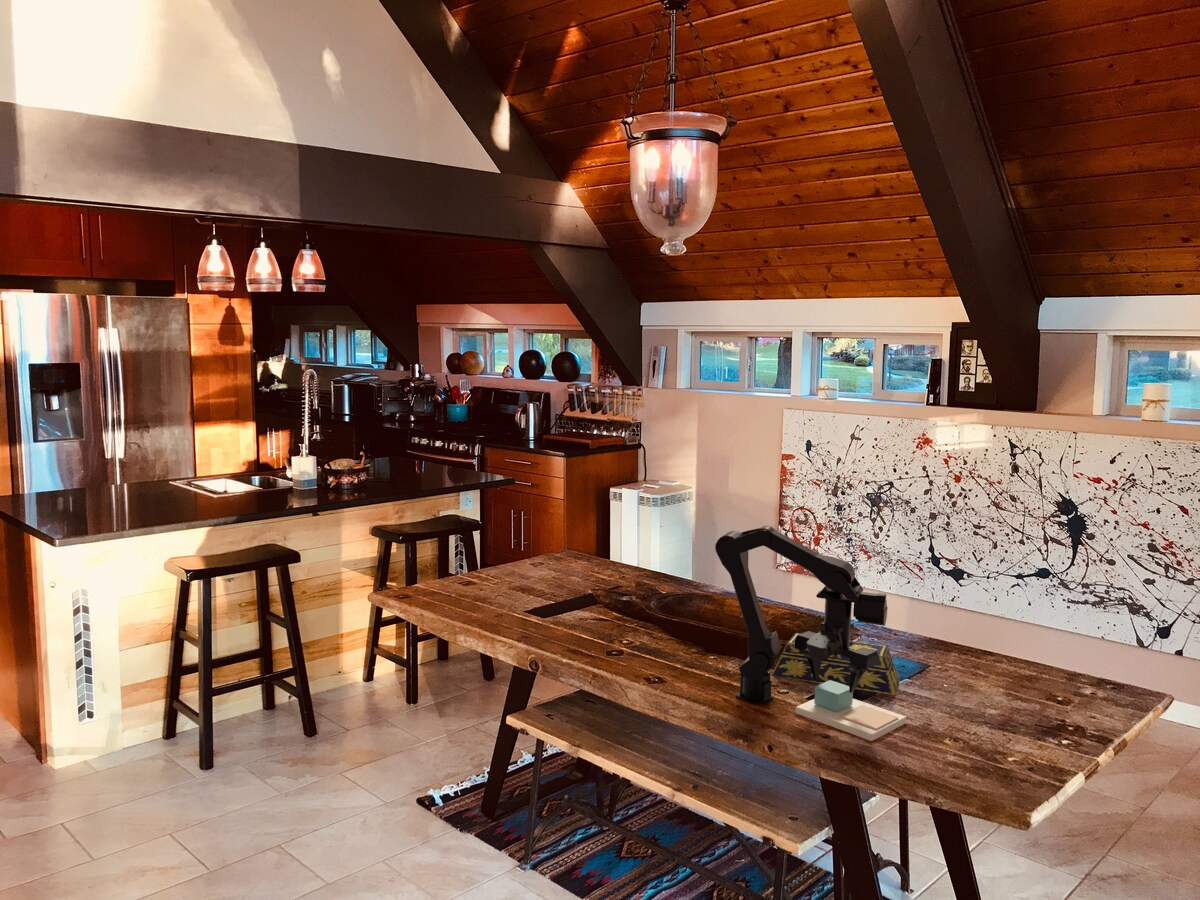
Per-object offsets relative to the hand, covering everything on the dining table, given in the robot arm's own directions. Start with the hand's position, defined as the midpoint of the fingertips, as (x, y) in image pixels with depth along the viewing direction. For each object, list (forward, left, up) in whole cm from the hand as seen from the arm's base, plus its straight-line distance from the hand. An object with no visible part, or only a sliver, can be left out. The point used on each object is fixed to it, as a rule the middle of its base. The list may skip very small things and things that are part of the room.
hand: (833, 686), depth 213 cm
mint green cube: (0, 0, -4) cm, 4 cm away
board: (+5, 0, -6) cm, 7 cm away
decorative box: (-11, +19, -7) cm, 23 cm away
